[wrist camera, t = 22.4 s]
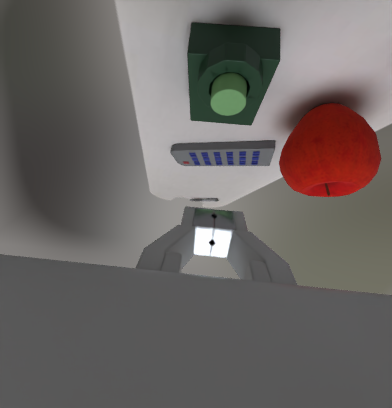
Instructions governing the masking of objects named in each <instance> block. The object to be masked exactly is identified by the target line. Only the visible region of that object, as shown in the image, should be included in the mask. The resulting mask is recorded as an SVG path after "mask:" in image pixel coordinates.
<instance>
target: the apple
mask: <svg viewBox="0 0 392 408" xmlns="http://www.w3.org/2000/svg"><path fill="white" fill-rule="evenodd" d="M380 161H381V155H380V150H379V145H378V141H377V136H376V133H375V132H374V131H373V129H372V128H371V127H370V126H369V124H368V123H367V122H366V120H365V119H364V118H363V117H362V116H360V115H359V114H357V113H356V112H354V111H353V110H351V109H350V108H348V107H346V106H344V105H341V104H339V103H328V104H322V105H320V106H318V107H315V108H313V109H312V110H310V111H309V112H308V113H307V114H306V115H305V116H304V117H303V118H302V119H301V120H300V121H299V123H298V124H297V126H296V127H295V128H294V130H293V131H292V133H291V134H290V136H289V137H288V139H287V141H286V143H285V145H284V147H283V149H282V152H281V157H280V161H279V165H280V171H281V173H282V175H283V177H284V179H285V181H286V182H287V184H288V185H289V186H290V187H291V188H292V189H293V190H294V191H297V192H300V193H302V194H305V195H308V196H320V197H321V196H322V197H331V196H332V197H334V196H343V195H348V194H351V193H354V192H356V191H358V190H359V189H361V188H363V187H365V186H366V185H367V184H368V183H369V182H370V181H371V180H372V178H373V177H374V176H375V175H376V174H377V171H378V168H379V164H380Z"/></svg>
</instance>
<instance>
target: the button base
mask: <svg viewBox="0 0 392 408" xmlns="http://www.w3.org/2000/svg"><path fill="white" fill-rule="evenodd" d="M187 55H188V75H189V96H190V116H191V120H192V121H204V122H216V123H227V124H239V125H252V123H253V120H254V118H255V116H256V114H257V111H258V109H259V107H260V105H261V102H262V100H263V98H264V96H265V93H266V91H267V89H268V87H269V84H270V82H271V80H272V77H273V75H274V73H275V71H276V68H277V66H278V64H279V62H280V29H277V28H263V27H248V26H234V25H220V24H205V23H192V24H191V31H190V38H189V45H188V53H187ZM228 72H233V73H237V74H240V75H241V76H243V78H244V79H245V80H246V83H247V94H246V105H245V107H244V108H243V110H242V111H240V112H239V113H237V114H235V115H230V116H225V115H220V114H218V113H216V112H215V111H214V110H213V109H212V107H211V92H212V84H213V82H214V80H215V79H216V78H217V77H218V76H220V75H221V74H224V73H228Z"/></svg>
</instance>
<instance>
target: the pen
mask: <svg viewBox="0 0 392 408" xmlns="http://www.w3.org/2000/svg"><path fill="white" fill-rule="evenodd" d="M190 201H219V200H218V199H216V198H208V199H190Z"/></svg>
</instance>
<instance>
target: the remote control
mask: <svg viewBox="0 0 392 408" xmlns="http://www.w3.org/2000/svg"><path fill="white" fill-rule="evenodd" d="M274 150H275V141H247V142H217V143H187V144H176V145H173V146H172V148H171V152H170V153H171V154H172V156H173V157H174V158H175V160H176V161H177V163H179V164H181V165H184V166H269V165H270V162H271V159H272V156H273V153H274Z"/></svg>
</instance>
